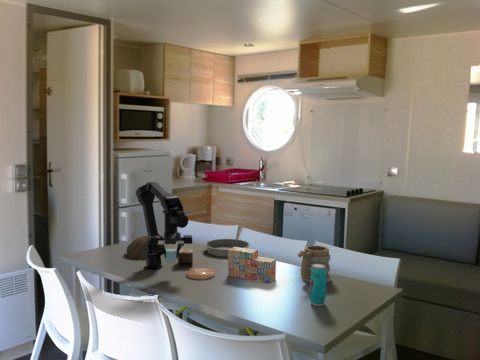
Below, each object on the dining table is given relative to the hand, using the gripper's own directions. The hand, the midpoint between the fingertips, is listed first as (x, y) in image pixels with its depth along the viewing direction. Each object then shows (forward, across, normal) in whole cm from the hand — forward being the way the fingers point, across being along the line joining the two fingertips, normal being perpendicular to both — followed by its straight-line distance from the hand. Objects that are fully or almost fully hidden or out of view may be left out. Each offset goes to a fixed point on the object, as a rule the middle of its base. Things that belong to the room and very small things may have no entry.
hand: (171, 258), depth 209 cm
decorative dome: (+9, -16, +40) cm, 44 cm away
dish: (+8, +13, +2) cm, 16 cm away
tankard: (+9, +61, -10) cm, 63 cm away
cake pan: (+9, +28, +42) cm, 52 cm away
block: (+1, 0, 0) cm, 1 cm away
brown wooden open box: (+8, +6, +19) cm, 22 cm away
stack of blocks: (+9, +36, -3) cm, 37 cm away
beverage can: (+9, +57, -37) cm, 68 cm away
